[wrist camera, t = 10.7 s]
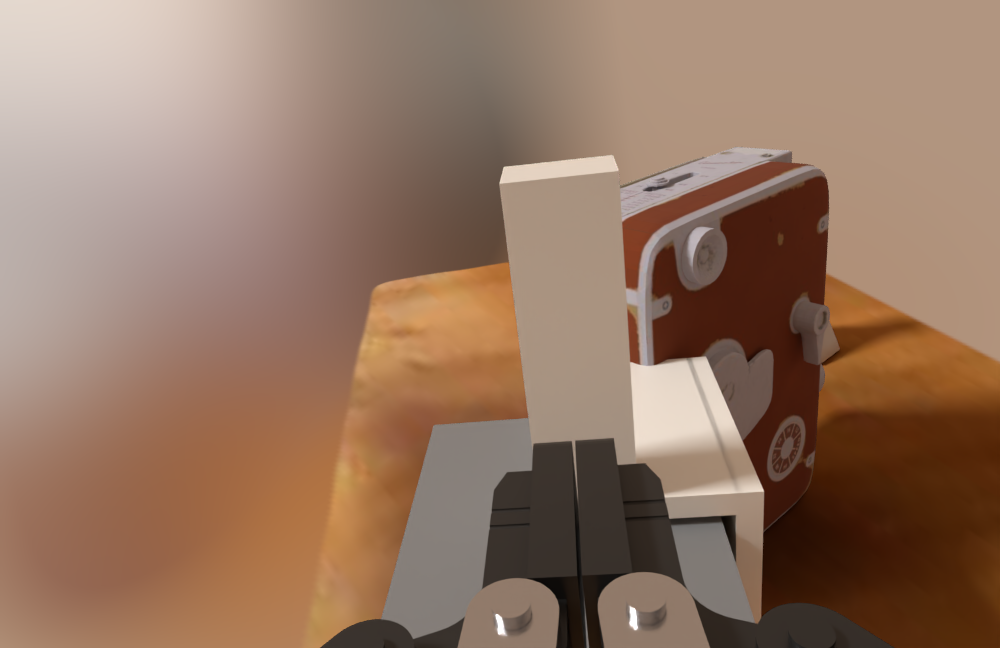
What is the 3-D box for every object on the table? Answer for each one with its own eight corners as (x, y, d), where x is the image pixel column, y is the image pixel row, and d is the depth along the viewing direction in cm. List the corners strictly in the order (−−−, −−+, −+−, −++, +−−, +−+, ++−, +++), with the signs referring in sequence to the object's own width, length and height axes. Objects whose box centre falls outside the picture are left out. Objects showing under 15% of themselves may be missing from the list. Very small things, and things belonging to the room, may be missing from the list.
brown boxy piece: (880, 460, 45) (912, 128, 37) (681, 645, 34) (667, 234, 26) (747, 411, 52) (751, 122, 44) (546, 553, 41) (503, 204, 33)
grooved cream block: (566, 607, 36) (512, 126, 27) (708, 600, 35) (702, 104, 26) (571, 787, 28) (495, 184, 19) (757, 784, 27) (772, 154, 18)
